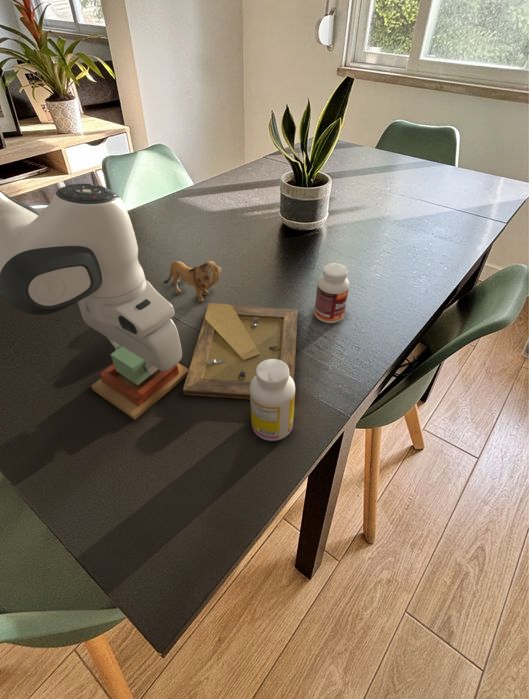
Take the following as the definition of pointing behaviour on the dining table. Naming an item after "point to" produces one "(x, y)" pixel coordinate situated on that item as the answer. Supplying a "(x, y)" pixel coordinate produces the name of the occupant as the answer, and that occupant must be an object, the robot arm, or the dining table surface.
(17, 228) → the robot arm
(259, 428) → the supplement bottle
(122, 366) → the green block
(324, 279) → the pill bottle
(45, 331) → the dining table surface
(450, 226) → the dining table surface
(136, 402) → the wooden framed tray
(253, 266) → the dining table surface
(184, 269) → the lion figurine
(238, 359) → the picture frame
